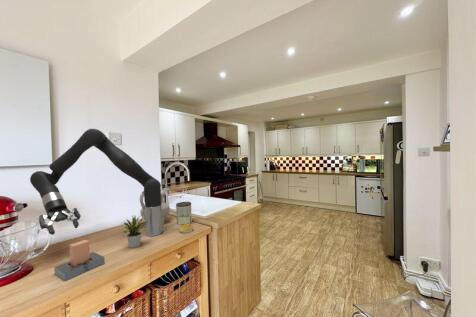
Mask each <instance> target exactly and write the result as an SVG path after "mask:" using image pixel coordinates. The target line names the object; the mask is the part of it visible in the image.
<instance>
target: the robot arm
mask: <svg viewBox="0 0 476 317" xmlns="http://www.w3.org/2000/svg"><path fill="white" fill-rule="evenodd" d="M92 147H95V148H96V149H97V150H99V151H100V152H101V153H103V154H104V155H105V156H106V157H107V158H108V159H109V161H110V162H111V163H112V165H114V166H115V167H116V168H117V169H118V170H119V171H121V172H122V173H123V174H125V175H127V176H129V177H130V178H131V179H133V180H135V181H136V182H138V183H139V184H140V185H141V186H142V187H143V191H144V197H143V202H144V205H145V214H146V221H145V222H146V223H145V225H146V226H145V235H146V236H147V237H155V236H159V235H161V234H162V233H163V232H164V231H165V227H164V226H165V225H164V223H165V222H163V216H162V206H161V189H162V183H161V182H160V181H159V180H158V179H156V178H155V177H154V176H152V175H151V174H150V173H148V172H147V171H146V170H144V168H143V167H142V166H141V165H140V164H139V163H138V162H137V161H136V160H135V159H133V158H132V157H131V156H130V154H128V153H127V152H126V151H124V150H123V149H121V148H119V147H118V146H116V145H115V144H114V142H112V141H111V139H109V138H108V137H107V135H106V134H105V133H103V132H102V131H101V130H99V129H97V128H88V129H86V130H85V131H84V133H82V135H80V137H79V138H78V139H77V141H76V142H75V143H73V144H72V146H70V147H69V148H68V149H67V150H66V151H65V152H63V154H62V155H60V156H59V157H58V158H56V159H55V160H53V162H51V163H50V164H49V167H48V168H49V170H51V171H52V172H50V173H49V172H46V171H42V170H38V171H35V172H32V174H31V175H30V178H29V182H30V184H31V185H32V187H33V188H34V190H36V191H37V192H38V193H39V196H40V198H41V201H42V206H43V208H44V210H45V212H46V214H45V215H43V214H40V215H39V217H38V223H39V226H40V229H41V230H44V229H46V230H47V232H48V234H49V235H52V236H54V235H55V233H56V231H55V228H54V226H53V225H54V223H55V222H56V223H58V222H60V221H61V222H62V221H68V222H69V221H70V222H71V223H72V224H73V226H74V229H78V227H79V226H80V223H79V220H80V219H81V214H80V212H79V210H78V209H77V207H74V208H73V209H69V208H68V206H67V204H66V202H65V199H64V197H63V194H61V192H60V189H59V187H58V186H56V185H57V184H58V182H59V181H60V179H61V178H62V177H63V176H64V174H65V173H66V172H67V171H68V170H70V168H71V167H73V166H74V165H75V163H77V161H78V160H79V159H80V158H81V156H82V155H83V154H84V153H85V152H86V151H88V150H89V149H91V148H92ZM46 219H48V220H49V222H48V223H46ZM148 221H150V222H148ZM146 227H147V228H146Z"/></svg>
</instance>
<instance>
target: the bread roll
mask: <svg viewBox="0 0 476 317" xmlns="http://www.w3.org/2000/svg"><path fill="white" fill-rule="evenodd" d="M192 230H193V231H194V226H193V225H191V224H189V225H187V224H183V225H181V226H179V228H178V232H179V233H180V234H188V233H187V232H189V233H191V232H193V231H192ZM190 231H191V232H190Z"/></svg>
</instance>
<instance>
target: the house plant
mask: <svg viewBox="0 0 476 317" xmlns="http://www.w3.org/2000/svg"><path fill="white" fill-rule="evenodd" d="M140 217H141V215H139V216H138V217H137V216H136V215H133V216H132V218H131V220H132V222H131V221H130V220H129V219H127V218H125V220H126V221H127V222H126V221H125V220H124V221H123V222H121V224H124V225H125V226H123V229H124V230H123V233H122V234H126V233H128V234H127V235H126V239H127V243H128V248H129V249H135V248H138V247H140V245H141V242H142V240H141V239H142V235H143V234H142V232H141V230H142V229H144V228H145V229H146V228H147V227H146V221H145V219H143V218H144V217H143V218H142V217H141V218H140ZM139 219H140V220H139ZM148 222H150V221H148ZM125 229H127V230H125Z"/></svg>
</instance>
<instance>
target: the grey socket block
mask: <svg viewBox="0 0 476 317" xmlns="http://www.w3.org/2000/svg"><path fill="white" fill-rule="evenodd" d="M89 255H90V261H88V262H82V263H80V264H78V266H75V267H72V266H71V264H70V260H68V261H67V262H63V263H60V264H58V265H56V266H54V268H53V270H54V275H55V276H56V277H59V279H61V280H62V281H64V282H66V281H68V280H71V279H73V278H75V277H77V276H80V275H82V274H85V273H86V272H88V271H92V270H94V269H96V268H98V267H100V266H102V265H105V256H103V255H101V254H100V253H99V254H98V253H97V252H94V251H91V252H89Z"/></svg>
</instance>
